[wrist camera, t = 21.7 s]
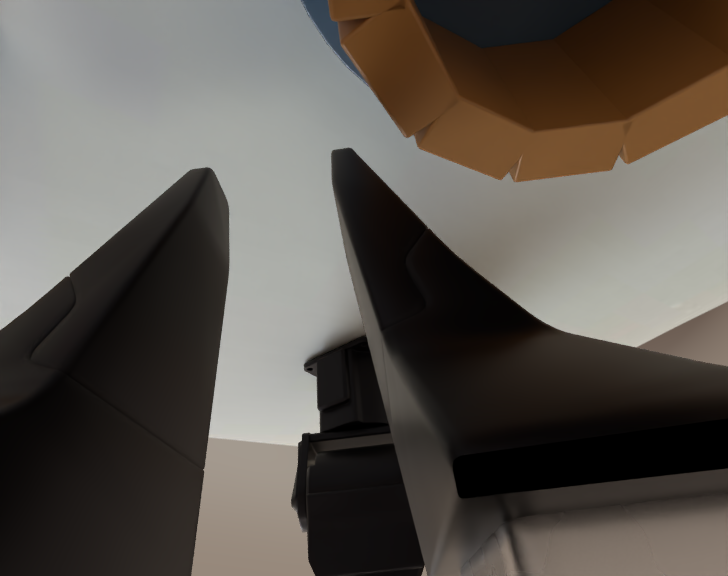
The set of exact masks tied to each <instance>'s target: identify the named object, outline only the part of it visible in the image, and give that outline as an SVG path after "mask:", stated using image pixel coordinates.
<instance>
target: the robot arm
mask: <svg viewBox="0 0 728 576" xmlns="http://www.w3.org/2000/svg"><path fill="white" fill-rule="evenodd" d="M331 164H332V185H333V191H334V196H335V201H336V206H337V211H338V217H339V222H340V227H341V232H342V238H343V243H344V248H345V253H346V258H347V262H348V266H349V270H350V274H351V278H352V282H353V286H354V290H355V294H356V298H357V301H358V305H359V309H360V313H361V317H362V321H363V325H364V329H365V333H366V337H361V338H358V339H356V340H354V341H352V342H350V343H348V344H345V345H343V346H341V347H339V348H337V349H335V350H333V351H330V352H328V353H326V354H324V355H322V356H320V357H317V358H315V359H313V360H311V361H309V362H307V363H305V364H304V370H305V371H306V372H308V373H310V374H312V375H314V376H316V377H317V408H318V410H319V411H320V433H314V434H310V433H304V434H302V441H301V442H299V443H298V467H297V473H296V478H295V483H294V489H293V494H292V499H291V504H292V508H293V509H294V510H295V511H296V512H297V514H298V518H299V522H300V526H301V529H302V532H307V534H308V559H309V563H310V565H311V567H312V569H313V572H314V574H315V576H421V575H422V572H423V568H424V565H425V567H426V571H427V576H728V367H727V366H722V365H716V364H710V363H705V362H700V361H696V360H691V359H686V358H682V357H677V356H672V355H668V354H663V353H659V352H653V351H649V350H645V349H640V348H635V347H631V346H626V345H621V344H617V343H612V342H607V341H603V340H598V339H593V338H589V337H584V336H580V335H575V334H571V333H567V332H564V331H561V330H558V329H556V328H554V327H552V326H550V325H548V324H546V323H544V322H542V321H541V320H539V319H537V318H536V317H534V316H533V315H532V314H530V313H529V312H527V311H526V310H525V309H524V308H522V307H521V306H520V305H518V304H517V303H516V302H515V301H513V300H512V299H511V298H509V297H508V296H507V295H506V294H504V293H503V292H502V291H500V290H499V289H498V288H497V287H495V286H494V285H493V284H491V283H490V282H489V281H488V280H486V279H485V278H484V277H483V276H481V275H480V274H479V273H477V272H476V271H475V270H474V269H472V268H471V267H470V266H469V265H468V264H466V263H465V262H464V261H463V260H462V259H460V258H459V257H458V256H457V255H456V254H455V253H454V252H452V251H451V250H450V249H449V248H448V247H447V246H446V245H445V244H444V243H443V242H442V241H441V240H440V239H439V238H438V237H437V236H436V235H435V234H434V233H433V232H432V231H431V230H430V229H428V227H427V226H426V225H425V224H424V223H423V222H422V221H421V220H420V219H419V218H418V216H417V215H416V214H415V213H414V212H413V211H412V210H411V209H410V208H409V207H408V206H407V205H406V204H405V203H404V202H403V201H402V200H401V199H400V198H399V197H398V196H397V195H396V194H395V193H394V192H393V191H392V190H391V189H390V188H389V187H388V186H387V184H386V183H385V182H384V181H383V180H382V179H381V178H380V177H379V176H378V175H377V174H376V173H375V172H374V171H373V170H372V169H371V168H370V167H369V166H368V165H367V164H366V163H365V162H364V161H363V160H362V159H361V158H360V157H359V156H358V155H357V154H356V152H355V151H354V150H353V149H351V148H344V149H337V150H333V151H332V153H331ZM228 276H229V206H228V202H227V199H226V197H225V194H224V192H223V190H222V188H221V186H220V183H219V181H218V179H217V177H216V175H215V173H214V171H213V170H212V169H211V168H207V167H206V168H199V169H192V170H190V171H189V172H187V173H186V174H185V175H184V176H183V177H182V178H180V179H179V180H178V181H177V182H176V183H175V184H173V185H172V186H171V187H170V188H169V189H168V190H166V191H165V192H164V193H163V194H162V195H161V196H159V197H158V198H157V199H156V200H155V201H154V202H152V203H151V204H150V205H149V206H148V207H147V208H146V209H144V210H143V211H142V212H141V213H140V214H139V215H137V216H136V217H135V218H134V219H133V220H132V221H130V222H129V223H128V224H127V225H126V226H125V227H123V228H122V229H121V230H120V231H119V232H118V233H116V234H115V235H114V236H113V237H112V238H111V239H110V240H108V241H107V242H106V243H105V244H104V245H103V246H101V247H100V248H99V249H98V250H97V251H96V252H94V253H93V254H92V255H91V256H90V257H89V258H87V259H86V260H85V261H84V262H83V263H82V264H80V265H79V266H78V267H77V268H76V269H75V270H74V271H72V272H71V273H70V277H65V278H64V279H63V280H62V281H61V282H59V283H58V284H57V285H56V286H55V287H54V288H53V289H51V290H50V291H49V292H48V293H47V294H45V295H44V296H43V297H42V298H41V299H39V300H38V301H37V302H36V303H35V304H33V305H32V306H31V307H30V308H29V309H27V310H26V311H25V312H24V313H22V314H21V315H20V316H18V317H17V318H16V319H14V320H13V321H12V322H11V323H9V324H8V325H7V326H5V327H4V328H3V329H2V330H0V576H191V572H192V564H193V556H194V548H195V540H196V532H197V524H198V516H199V508H200V500H201V492H202V484H203V477H204V471H203V469H204V467H205V459H206V451H207V443H208V435H209V427H210V419H211V412H212V404H213V396H214V388H215V380H216V372H217V364H218V356H219V348H220V340H221V332H222V324H223V316H224V309H225V301H226V293H227V285H228Z"/></svg>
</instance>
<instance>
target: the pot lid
mask: <svg viewBox="0 0 728 576" xmlns="http://www.w3.org/2000/svg"><path fill="white" fill-rule="evenodd" d="M611 1H613V0H414V2H415V4H416V5H417V7H418V9H419V11H420V13H421V15H422V16H423V17H425V18H426V19H428V20H430V21H432V22H434V23H436V24H438V25H439V26H441V27H443V28H445V29H447V30H449V31H451V32H452V33H454V34H456V35H458V36H460V37H462V38H464V39H465V40H467V41H469V42H471V43H473V44H475V45H477V46H478V47H480V48H488V47H496V46H504V45H512V44H519V43H527V42H535V41H543V40H551V39H554V38H556V37H557V36H559V35H561V34H562V33H564V32H565V31H567V30H568V29H570V28H571V27H573V26H574V25H576V24H577V23H579V22H580V21H582V20H583V19H585V18H587V17H588V16H590V15H591V14H593V13H594V12H596V11H597V10H599V9H600V8H602V7H603V6H605V5H606V4H608V3H609V2H611ZM301 2H302V4H303V6H304V8H305V10H306V12H307V14H308V16H309V17H310V19H311V20H312V22H313V23H314V25H315V26H316V28H317V29H318V31H319V32H320V34H321V35H322V37H323V38H324V40H325V41H326V43H327V44H328V46H329V47H330V48H331V49H332V50H333V52H334V53H335V54H336V55H337V56H338V57H339V59H340V60H341V61H342V62H343V63H344V64H345V66H346V67H347V68H348V69H349V70H351V71H352V72H353V73H354V74H355V75H356V76H357V77H358V78H359V79H361V80H362V81H363V82H364V83H365V84H366V85H367V86H368V87H369V85H368V84H367V82H366V81H365V80H364V78H363V77H362V75H361V74H360V72H359V71H358V69H357V68H356V67H355V65H354V64H353V62H352V61H351V59H350V58H349V57H348V55H347V54H346V52H345V51H344V49H343V48H342V47H341V43H340V37H339V29H338V22H335V21H332V20H331V18H330V13H329V5H328V0H301Z"/></svg>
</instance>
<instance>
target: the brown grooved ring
mask: <svg viewBox="0 0 728 576" xmlns="http://www.w3.org/2000/svg"><path fill="white" fill-rule="evenodd" d="M328 5H329V13H330V18H331V20H332V21H335V22H338V29H339V37H340V43H341V47H342V48H343V49H344V51H345V52H346V54H347V55H348V57H349V58H350V59H351V61H352V62H353V64H354V65H355V67H356V68H357V69H358V71H359V72H360V74H361V75H362V77H363V78H364V80H365V81H366V82H367V84H368V85H369V87H370V88H371V90H372V91H373V92H374V94H375V95H376V97H377V98H378V100H379V101H380V102H381V104H382V105H383V107H384V108H385V110H386V111H387V113H388V114H389V115H390V117H391V118H392V120H393V121H394V123H395V124H396V125H397V127H398V128H399V130H400V131H401V133H402V134H403V135H404V136H405V137H406V138H408V137H410V136H412V135H413V134H414V136H415V139H416V143H417V146H418V148H419V149H422V150H424V151H427V152H429V153H432V154H434V155H437V156H439V157H442V158H445V159H447V160H450V161H452V162H455V163H457V164H460V165H463V166H465V167H468V168H470V169H473V170H475V171H478V172H480V173H483V174H486V175H488V176H491V177H493V178H496V179H498V180H502V179H503V178H504V177H505V175H506V174H507V173H508V172H509V173H510V175H511V177H512V179H513V181H514V182H521V181H529V180H537V179H545V178H553V177H561V176H569V175H577V174H585V173H593V172H601V171H609V170H612V168H613V166H614V164H615V162H616V160H617V157H618V155H619V156H620V157H621V158H622V160H623V161H624V162H625V163H626V164H630V163H632V162H634V161H636V160H638V159H640V158H642V157H644V156H646V155H648V154H650V153H652V152H654V151H656V150H658V149H660V148H662V147H664V146H666V145H668V144H670V143H672V142H674V141H676V140H678V139H680V138H682V137H684V136H686V135H688V134H690V133H692V132H694V131H696V130H698V129H700V128H702V127H705V126H707V125H709V124H711V123H713V122H715V121H717V120H719V119H721V118H723V117H725V116H727V115H728V0H613V1H611V2H609V3H608V4H606V5H605V6H603V7H602V8H600V9H599V10H597V11H596V12H594V13H593V14H591V15H590V16H588V17H587V18H585V19H583V20H582V21H580V22H579V23H577V24H576V25H574V26H573V27H571V28H570V29H568V30H567V31H565V32H564V33H562V34H561V35H559V36H557V37H556V38H554V39H551V40H543V41H535V42H527V43H519V44H512V45H504V46H496V47H488V48H480V47H478V46H477V45H475V44H473V43H471V42H469V41H467V40H465V39H464V38H462V37H460V36H458V35H456V34H454V33H452V32H451V31H449V30H447V29H445V28H443V27H441V26H439V25H438V24H436V23H434V22H432V21H430V20H428V19H426V18H425V17H423V16H422V15H421V13H420V11H419V9H418V7H417V5H416V4H415V2H414V0H328Z"/></svg>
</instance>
